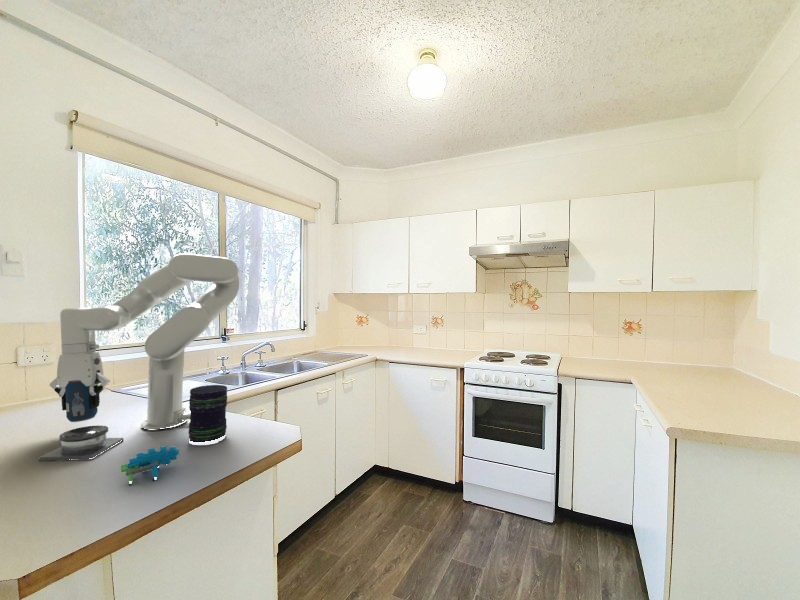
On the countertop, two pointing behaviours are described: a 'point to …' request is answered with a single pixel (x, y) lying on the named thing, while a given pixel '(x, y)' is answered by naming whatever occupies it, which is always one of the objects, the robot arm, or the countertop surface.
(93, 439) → the puck on square plate
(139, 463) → the blue toy dinosaur
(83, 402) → the soda can
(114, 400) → the countertop surface
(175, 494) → the countertop surface
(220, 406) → the storage jar
